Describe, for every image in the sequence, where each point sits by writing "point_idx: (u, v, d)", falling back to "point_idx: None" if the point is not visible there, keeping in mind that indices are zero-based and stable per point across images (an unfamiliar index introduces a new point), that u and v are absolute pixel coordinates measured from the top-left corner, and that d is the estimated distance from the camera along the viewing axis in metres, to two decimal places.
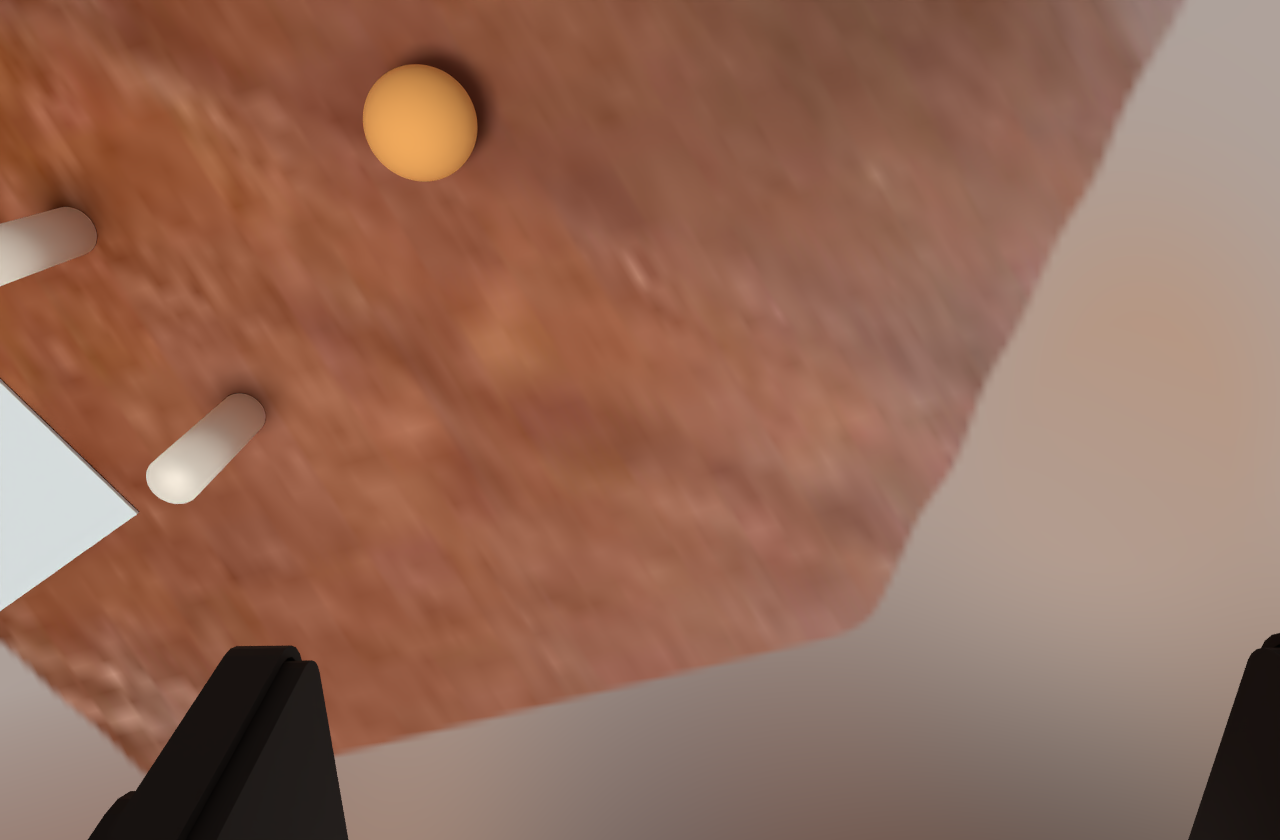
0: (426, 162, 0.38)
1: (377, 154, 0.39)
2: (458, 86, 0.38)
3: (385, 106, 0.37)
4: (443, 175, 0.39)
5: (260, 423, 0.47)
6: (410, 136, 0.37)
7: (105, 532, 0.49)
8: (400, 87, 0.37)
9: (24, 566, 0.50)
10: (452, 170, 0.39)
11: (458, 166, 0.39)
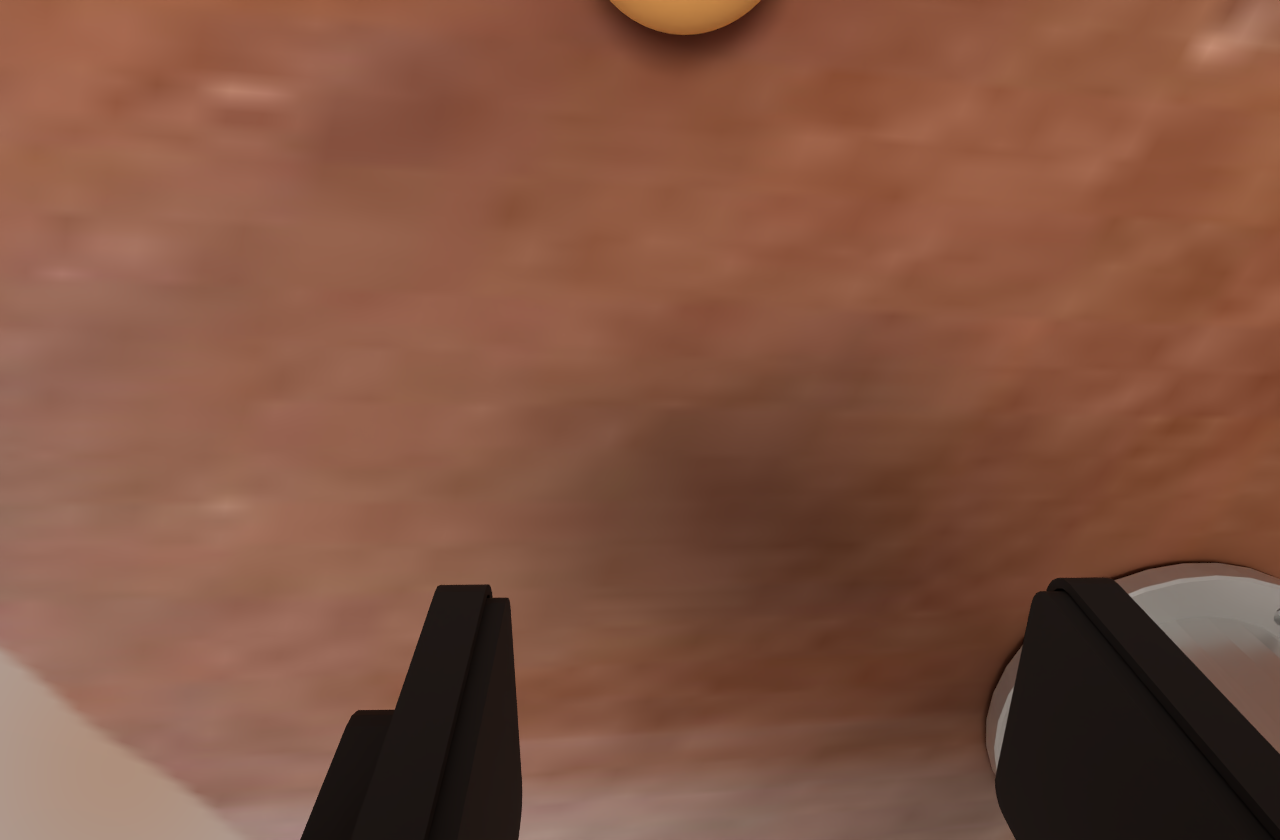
0: None
1: None
2: (696, 31, 0.20)
3: None
4: None
5: None
6: None
7: None
8: None
9: None
10: None
11: None
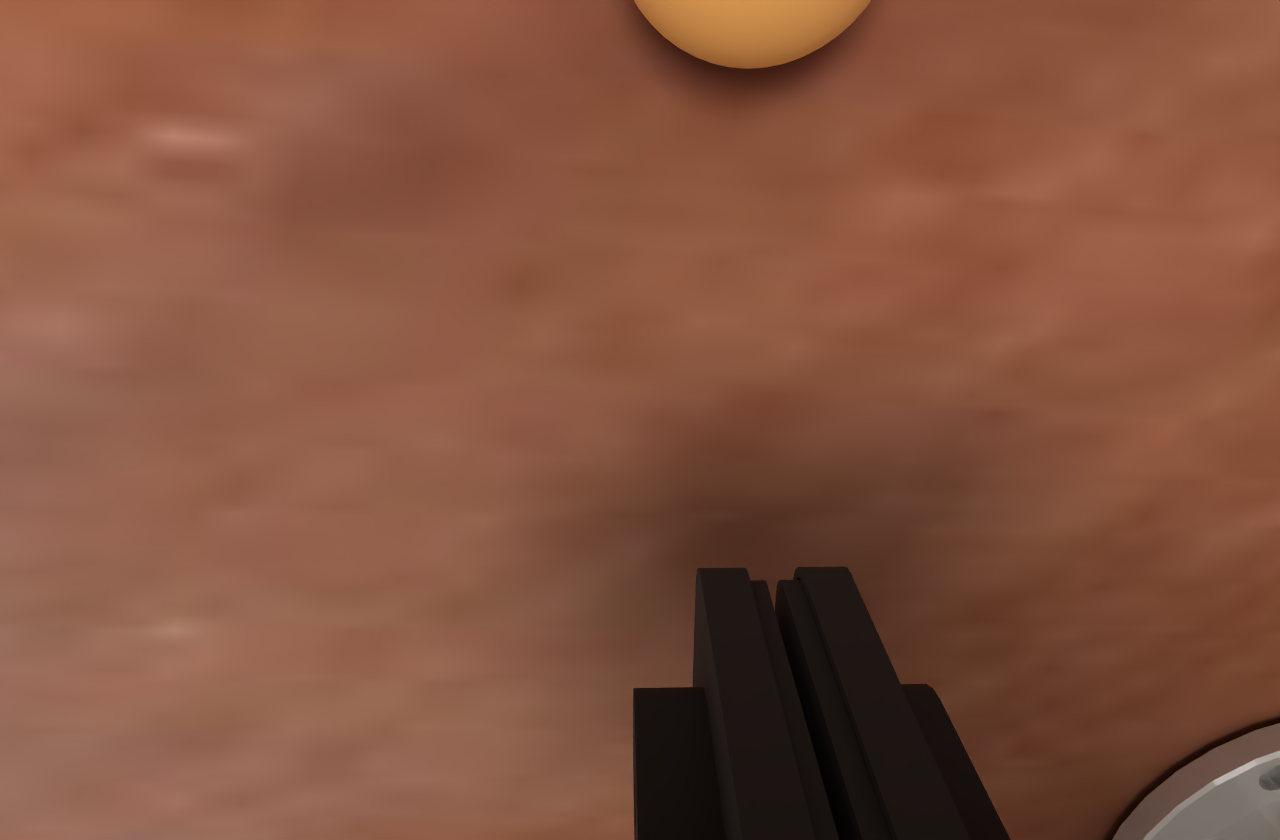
0: None
1: None
2: (765, 65, 0.15)
3: None
4: None
5: None
6: None
7: None
8: None
9: None
10: None
11: None
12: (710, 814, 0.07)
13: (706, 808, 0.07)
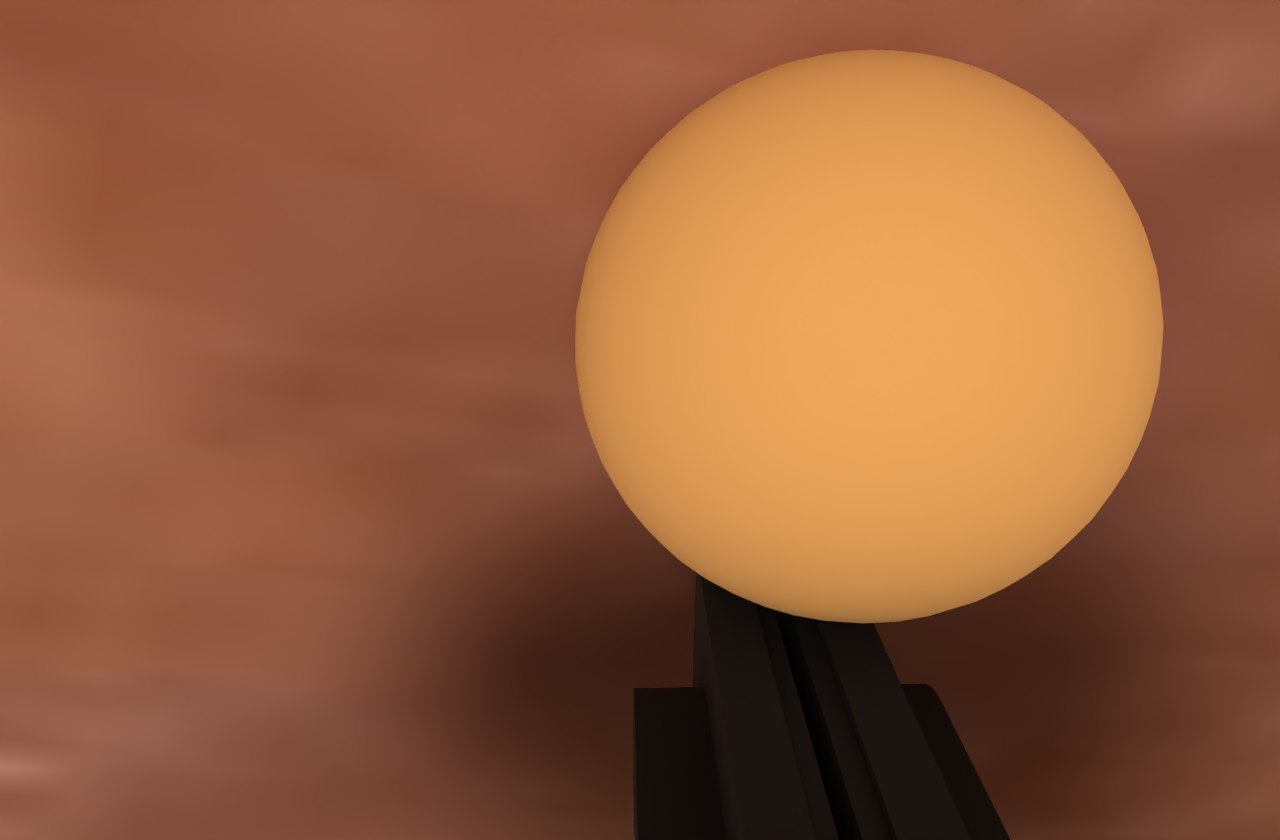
0: (695, 119, 0.07)
1: None
2: (954, 525, 0.06)
3: None
4: None
5: None
6: (862, 69, 0.06)
7: None
8: (1116, 199, 0.06)
9: None
10: (585, 279, 0.07)
11: (582, 313, 0.07)
12: (710, 814, 0.07)
13: (706, 808, 0.07)
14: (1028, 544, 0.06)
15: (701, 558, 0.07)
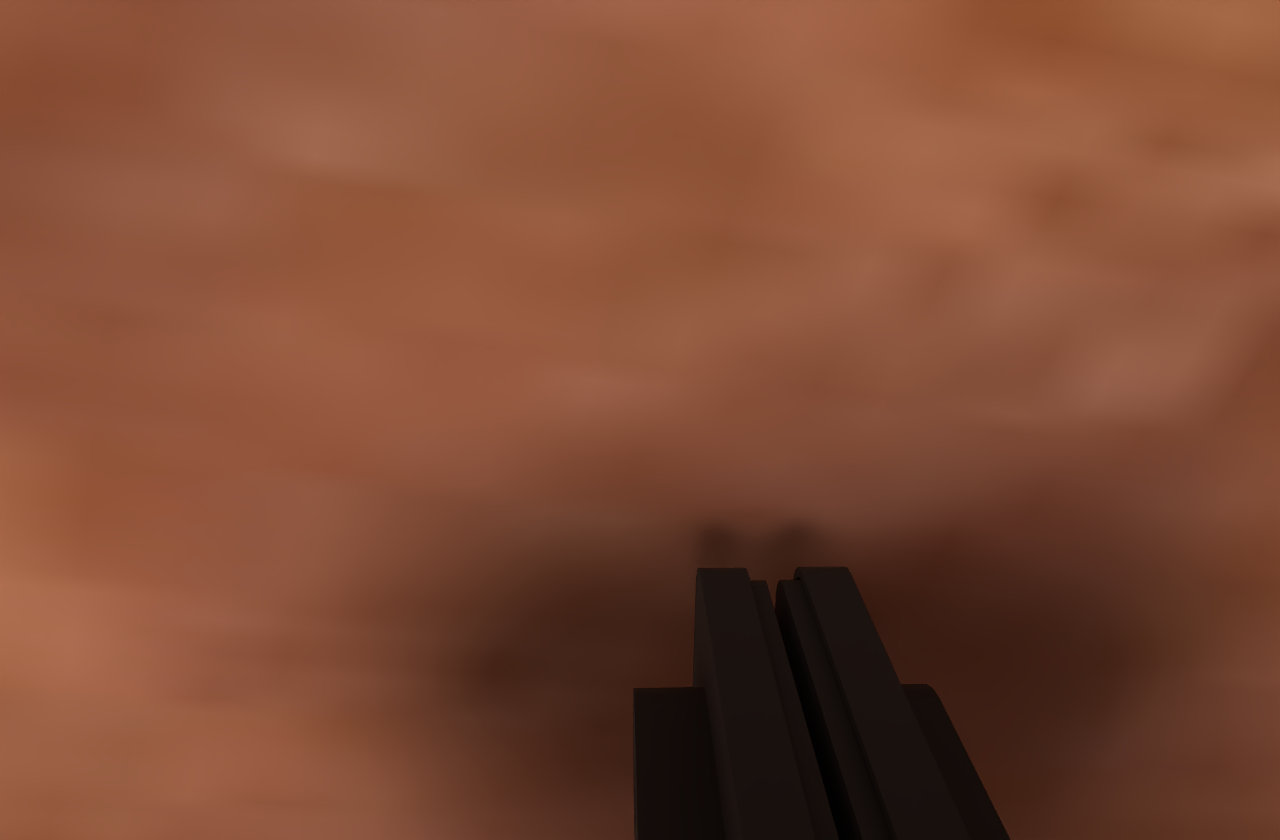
0: None
1: None
2: None
3: None
4: None
5: None
6: None
7: None
8: None
9: None
10: None
11: None
12: (710, 814, 0.07)
13: (706, 808, 0.07)
14: None
15: None
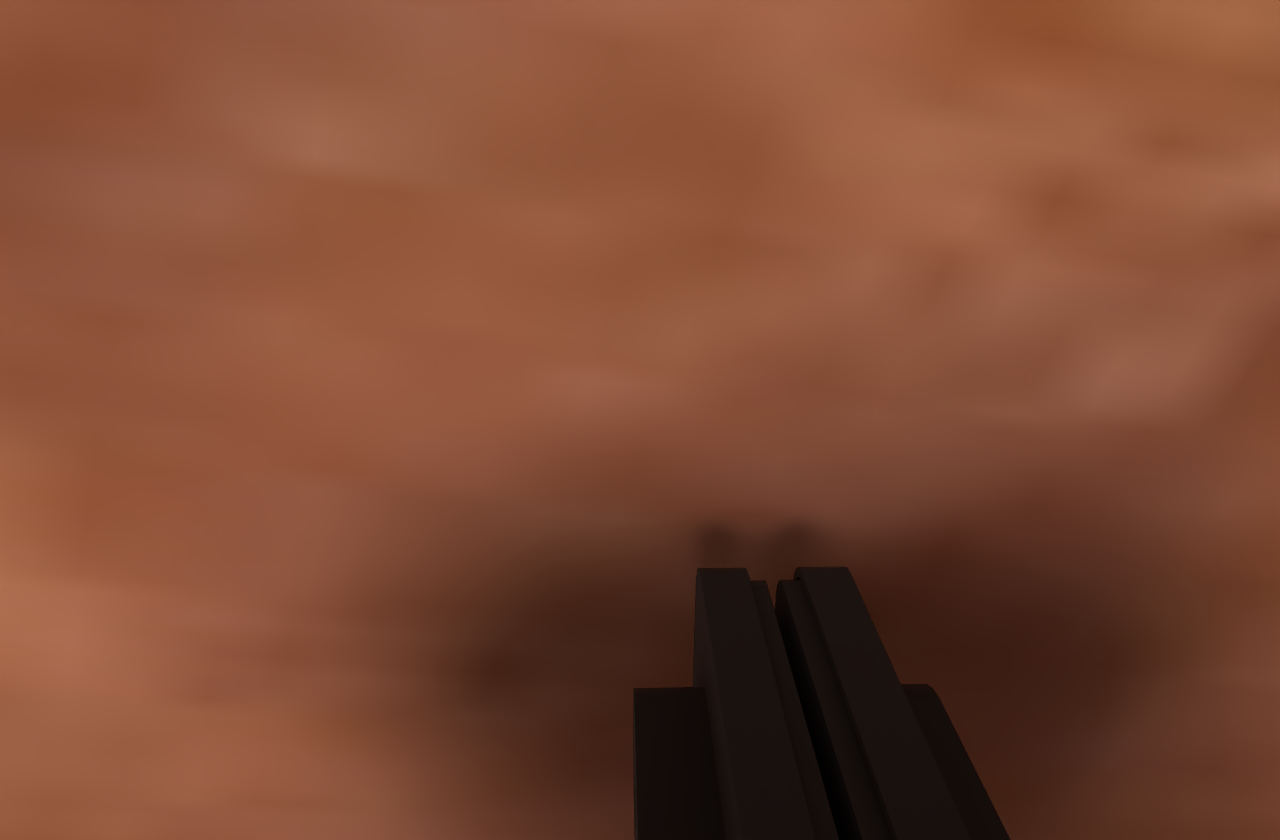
0: None
1: None
2: None
3: None
4: None
5: None
6: None
7: None
8: None
9: None
10: None
11: None
12: (710, 814, 0.07)
13: (706, 808, 0.07)
14: None
15: None
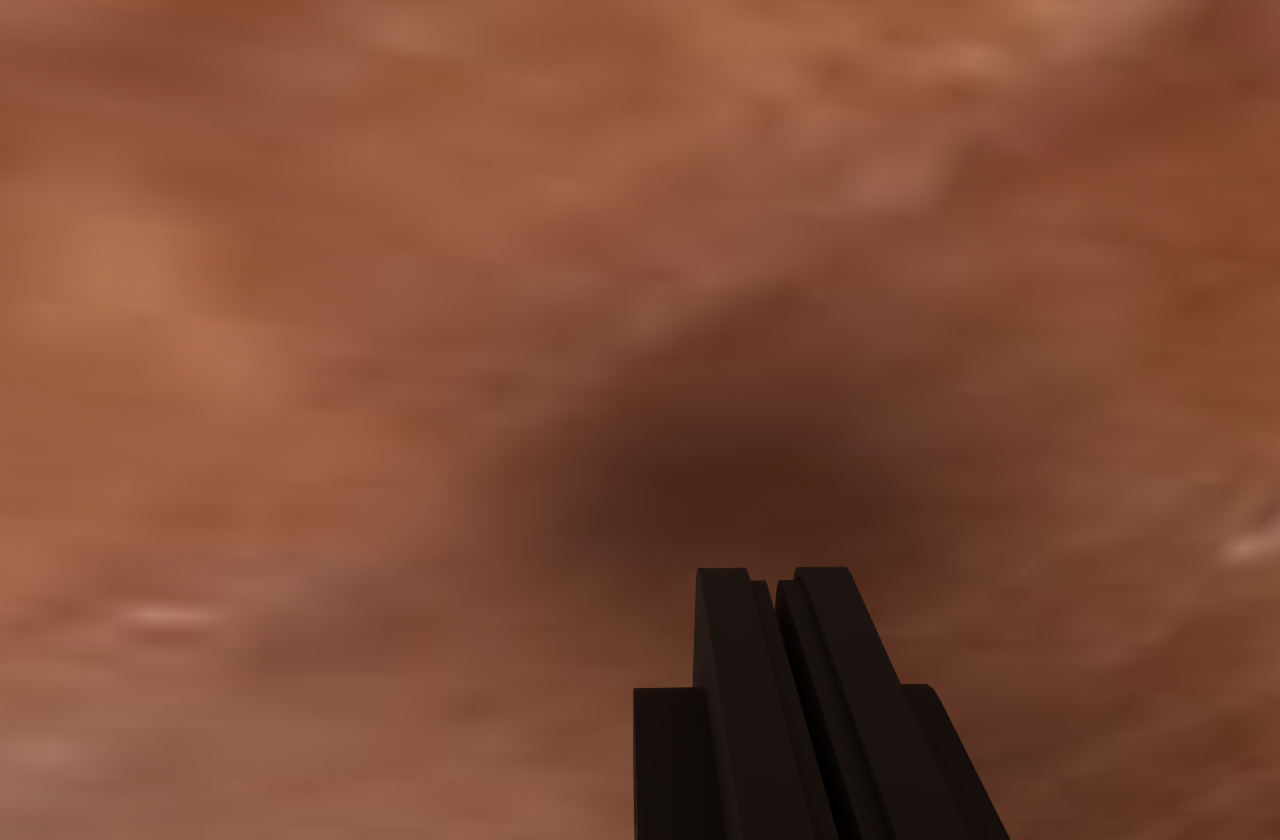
0: None
1: None
2: None
3: None
4: None
5: None
6: None
7: None
8: None
9: None
10: None
11: None
12: (710, 814, 0.07)
13: (706, 808, 0.07)
14: None
15: None
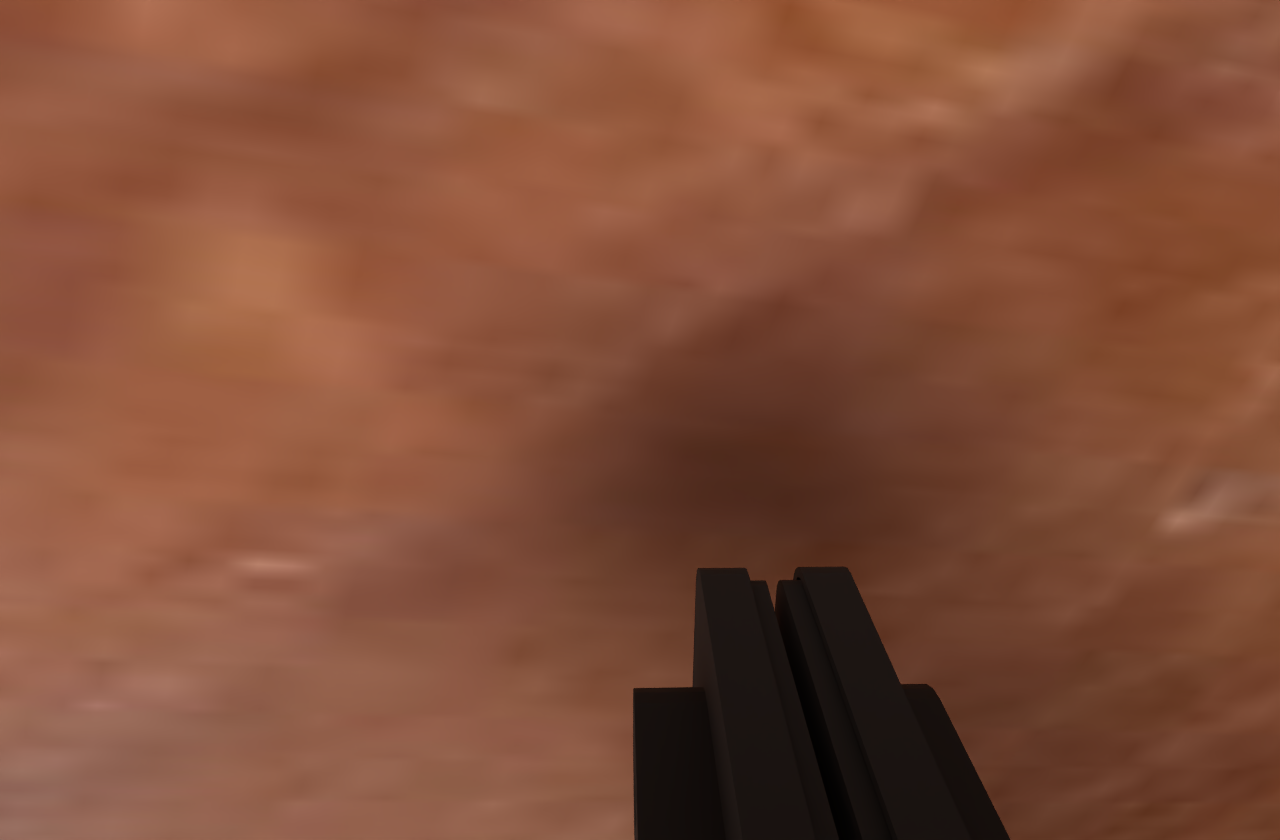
0: None
1: None
2: None
3: None
4: None
5: None
6: None
7: None
8: None
9: None
10: None
11: None
12: (710, 814, 0.07)
13: (706, 808, 0.07)
14: None
15: None
